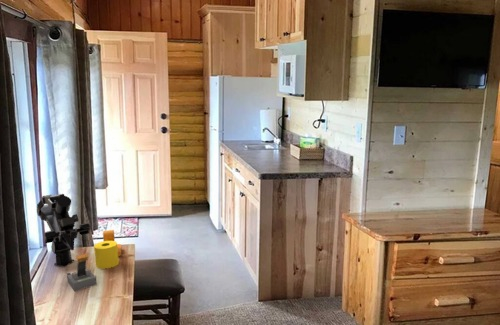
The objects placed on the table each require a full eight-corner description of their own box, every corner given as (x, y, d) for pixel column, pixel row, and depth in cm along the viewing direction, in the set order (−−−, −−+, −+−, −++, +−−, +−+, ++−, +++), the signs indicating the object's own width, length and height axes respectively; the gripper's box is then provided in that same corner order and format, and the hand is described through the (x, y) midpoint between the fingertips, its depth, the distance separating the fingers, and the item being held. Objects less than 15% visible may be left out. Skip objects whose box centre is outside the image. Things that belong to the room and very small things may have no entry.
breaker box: (67, 282, 190) (66, 271, 189) (89, 276, 195) (88, 265, 194) (74, 291, 182) (72, 279, 181) (96, 284, 187) (95, 272, 186)
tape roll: (117, 267, 203) (115, 247, 201) (94, 269, 202) (92, 249, 200) (120, 258, 213) (118, 239, 211) (98, 260, 211) (96, 241, 210)
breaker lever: (75, 275, 187) (76, 256, 181) (85, 272, 189) (86, 253, 183) (76, 278, 186) (77, 259, 180) (86, 275, 188) (87, 256, 182)
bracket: (120, 257, 215) (118, 233, 213) (105, 259, 213) (102, 235, 211) (121, 249, 225) (119, 226, 223) (106, 251, 223) (103, 227, 221)
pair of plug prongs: (67, 276, 196) (67, 273, 196) (80, 272, 199) (80, 269, 199) (72, 281, 190) (72, 279, 190) (85, 278, 193) (85, 275, 193)
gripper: (41, 213, 189) (51, 246, 182) (87, 205, 200) (97, 235, 193) (40, 227, 197) (49, 258, 190) (83, 218, 207) (93, 247, 201)
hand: (72, 249), depth 193 cm, fingers closed
